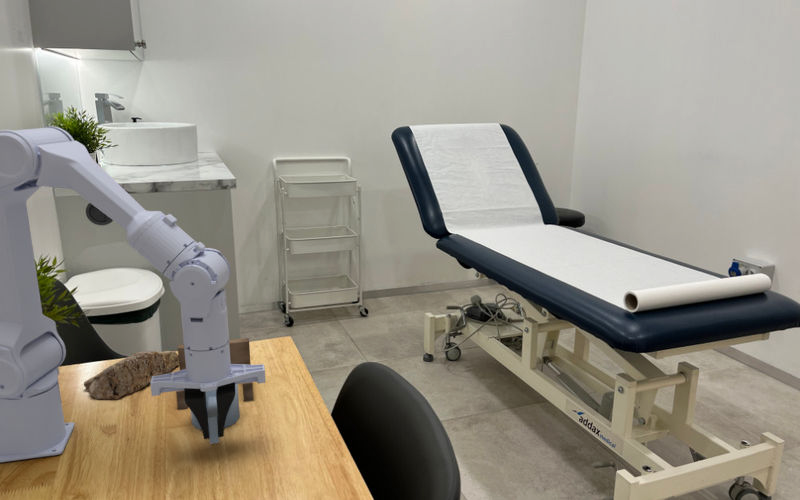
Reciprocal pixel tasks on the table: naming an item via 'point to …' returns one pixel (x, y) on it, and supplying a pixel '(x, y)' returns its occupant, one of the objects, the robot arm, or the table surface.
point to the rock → (131, 374)
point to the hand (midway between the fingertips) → (213, 434)
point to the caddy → (237, 356)
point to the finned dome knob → (213, 414)
